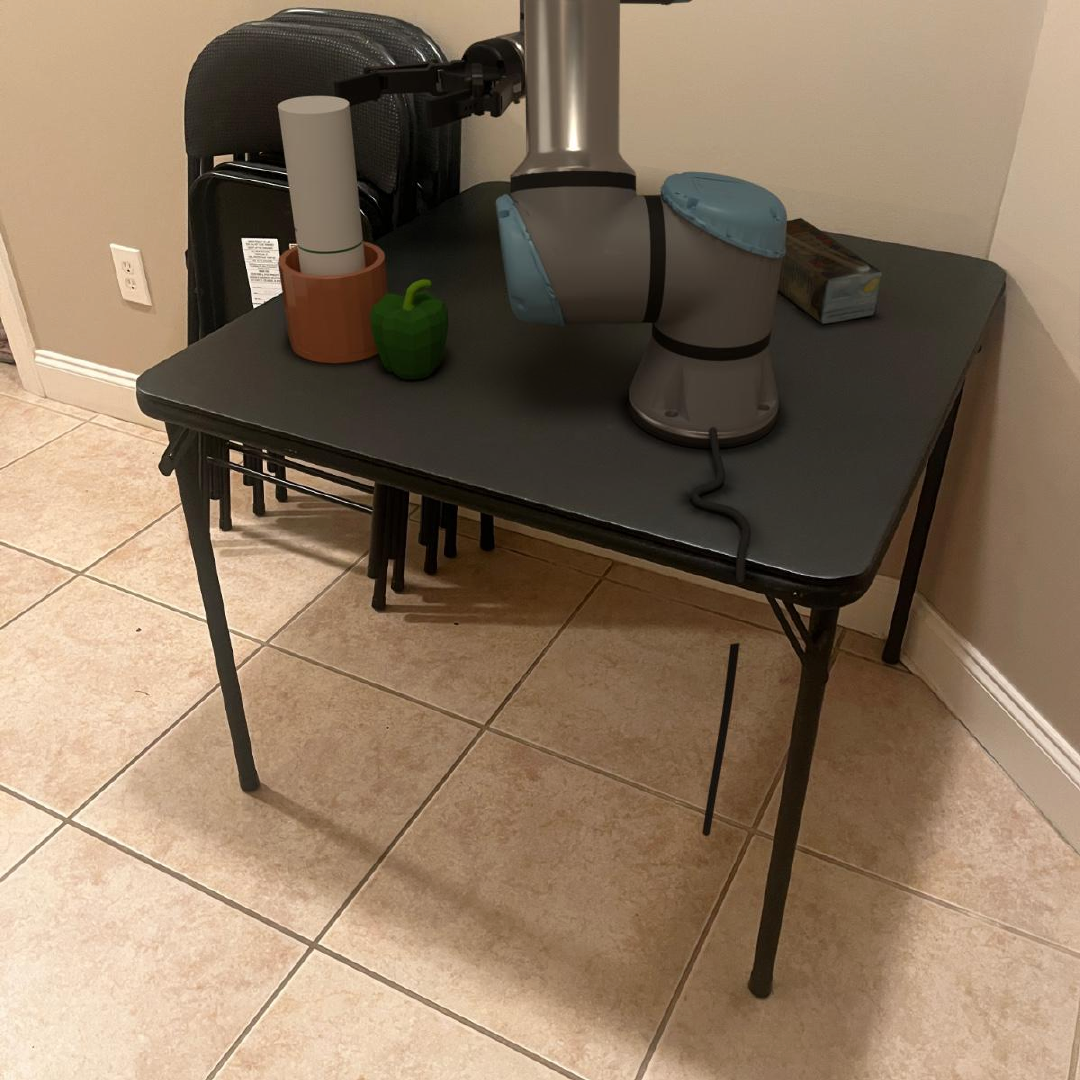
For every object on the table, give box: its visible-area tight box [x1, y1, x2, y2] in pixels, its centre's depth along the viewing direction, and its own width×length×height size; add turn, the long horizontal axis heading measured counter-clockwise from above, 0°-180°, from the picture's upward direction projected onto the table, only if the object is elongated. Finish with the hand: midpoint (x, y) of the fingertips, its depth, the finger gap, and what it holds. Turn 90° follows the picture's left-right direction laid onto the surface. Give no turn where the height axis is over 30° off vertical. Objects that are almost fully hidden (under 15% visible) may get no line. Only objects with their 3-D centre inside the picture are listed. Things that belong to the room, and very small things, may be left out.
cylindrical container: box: [277, 95, 366, 276], centre depth 111 cm, size 7×7×25 cm
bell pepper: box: [370, 278, 449, 380], centre depth 110 cm, size 8×8×10 cm
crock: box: [277, 240, 389, 364], centre depth 116 cm, size 12×12×10 cm
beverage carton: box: [777, 217, 883, 325], centre depth 129 cm, size 8×19×7 cm, turn 19°
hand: (381, 104), depth 111 cm, fingers open, 13 cm apart
